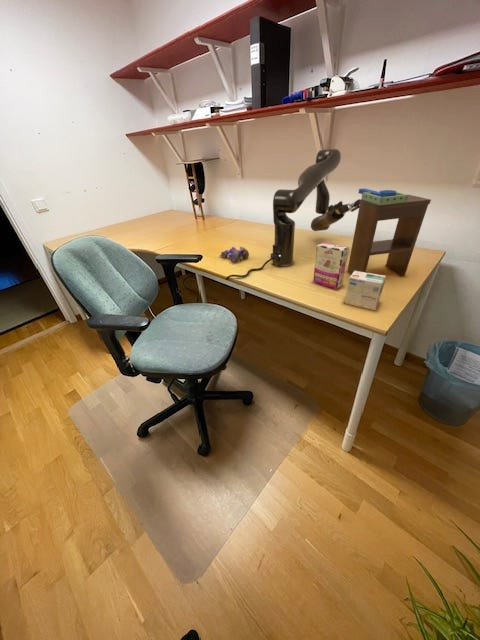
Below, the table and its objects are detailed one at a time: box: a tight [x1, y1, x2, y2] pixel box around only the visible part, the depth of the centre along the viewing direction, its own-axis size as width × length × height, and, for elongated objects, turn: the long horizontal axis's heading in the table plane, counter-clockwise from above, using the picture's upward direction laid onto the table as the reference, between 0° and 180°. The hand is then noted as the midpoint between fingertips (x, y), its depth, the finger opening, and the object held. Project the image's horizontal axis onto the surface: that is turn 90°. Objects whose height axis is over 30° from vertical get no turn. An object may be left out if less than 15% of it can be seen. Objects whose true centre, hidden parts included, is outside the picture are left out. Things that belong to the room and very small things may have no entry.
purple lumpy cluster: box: [219, 246, 250, 264], centre depth 136 cm, size 10×15×6 cm, turn 43°
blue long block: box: [358, 187, 398, 197], centre depth 97 cm, size 20×5×3 cm, turn 9°
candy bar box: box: [312, 241, 350, 290], centre depth 102 cm, size 11×5×16 cm, turn 45°
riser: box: [346, 194, 432, 277], centre depth 103 cm, size 12×20×30 cm, turn 99°
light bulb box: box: [344, 271, 387, 311], centre depth 90 cm, size 11×7×11 cm, turn 56°
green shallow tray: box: [360, 189, 409, 205], centre depth 93 cm, size 12×10×2 cm
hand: (350, 202), depth 114 cm, fingers open, 8 cm apart
